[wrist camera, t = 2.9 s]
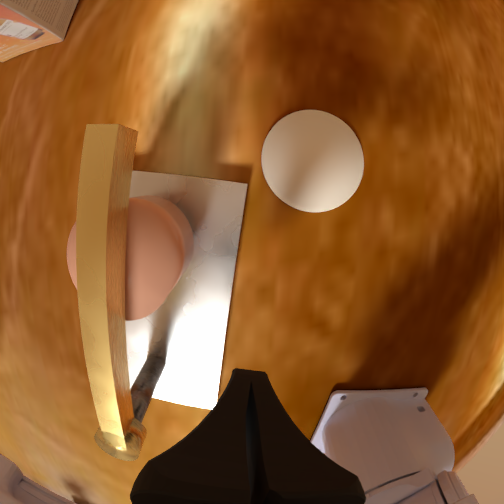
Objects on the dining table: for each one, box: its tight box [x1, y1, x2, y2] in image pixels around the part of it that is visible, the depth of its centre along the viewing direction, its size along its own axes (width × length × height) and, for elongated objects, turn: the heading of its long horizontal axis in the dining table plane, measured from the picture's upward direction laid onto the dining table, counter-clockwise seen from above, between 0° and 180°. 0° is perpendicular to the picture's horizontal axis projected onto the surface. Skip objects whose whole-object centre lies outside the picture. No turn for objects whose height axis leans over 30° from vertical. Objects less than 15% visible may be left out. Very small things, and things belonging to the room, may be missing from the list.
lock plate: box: [125, 170, 248, 422], centre depth 15 cm, size 9×16×7 cm, turn 171°
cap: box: [67, 195, 194, 321], centre depth 12 cm, size 5×5×4 cm
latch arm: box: [76, 124, 147, 461], centre depth 10 cm, size 15×2×2 cm, turn 171°
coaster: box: [261, 110, 364, 212], centre depth 16 cm, size 6×6×1 cm
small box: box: [0, 0, 79, 62], centre depth 8 cm, size 8×6×10 cm
